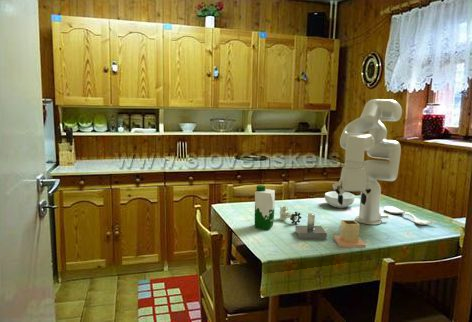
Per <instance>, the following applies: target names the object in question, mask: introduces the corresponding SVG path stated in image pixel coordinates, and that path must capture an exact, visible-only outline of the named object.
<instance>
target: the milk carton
mask: <svg viewBox="0 0 472 322" xmlns="http://www.w3.org/2000/svg"><path fill="white" fill-rule="evenodd" d="M275 192H276V189H275V190H274V189H271V188H269V189H268V188H266V186H265V185H264V184H261V185H260V184H259V185H256V190H255V191H254V229H256V230H257V229H258V230H264V231H270V230H271V229H272V227H273V226H274V221H275V199H276V195H275V194H276V193H275Z"/></svg>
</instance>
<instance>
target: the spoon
mask: <svg viewBox="0 0 472 322" xmlns="http://www.w3.org/2000/svg"><path fill="white" fill-rule="evenodd" d="M383 209H384V210H385V212H388V213H390V214H393V215H395V214H396V215H398V214H400V215H401V214H405V215H407V216H410V217H411V218H412V219H413V220H414V223H415V224H418V225H422V226H423V225H430V224H436V223H437V221H435V220H429V221H428V220H421V219H419V218H417V217H416V216H415V215H414V214H412V213H411V212H408V211H404V210H402V209H400V208H397V207H396V206H392V205H386V206H383Z"/></svg>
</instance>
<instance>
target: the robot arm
mask: <svg viewBox="0 0 472 322" xmlns="http://www.w3.org/2000/svg"><path fill="white" fill-rule="evenodd" d="M402 115H403V108H402V106H401V104H400V103H399V102H398V101H396V100H394V99H384V98H381V99H380V98H377V99H369V100H368V101H367V102H366V103H365V105H364V107H363V110H362V112H361V114H360V116H359V117H358V118H356V119H354V120H352V121H350V122H349V123H348V124H346V125H345V127H344V128H343V130H342V133H341V135H340V138H339V145H340V147H341V148H342V149H344V150H345V157H344V166H342V168H341V171H340V180H339V181H337V182H335V183H332V185H331V186H332V188H333V191H336V193H337V194H338V202H339V204H340V205H342V204H343V196H342V194H343V193H344V192H360V199H359V200H360V202H359V215H357V216H356V217H355V221H356V222H357V223H359V224H360V223H361V224H365V225H372V226H373V225H375V226H376V225H380V224H382V220H383V219H389V215H388V214H384V213H380V206H381V197H382V196H381V195H382V193H381V192H382V187H381V185H380V183H379V182H378V181H384V182H385V181H387V182H394V181H396V180H397V178H398V176H399V168H400V167H399V166H400V161H401V153H402V149H401V144H400V142H399V141H397V140H393V139H387V134H388V129H387V128H386V126H385V124H384V123H383V122H398V121H400V119H401V118H402ZM366 132H368V133H366ZM365 152H366V155H367V156H368V157H369V158H373V159H367V160H365ZM374 159H375V160H374ZM376 159H383V160H376ZM385 160H388V161H385ZM338 187H339V189H338Z"/></svg>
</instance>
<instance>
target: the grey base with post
mask: <svg viewBox="0 0 472 322" xmlns="http://www.w3.org/2000/svg"><path fill="white" fill-rule="evenodd" d="M315 219H316V214H315V213H313V212H312V213H310V212H309V213H307V225H294V228H295V231H294V233H295V234H296V236H297V238H298V240H310V241H311V240H314V241H315V240H319V241H320V240H322V241H323V240H324V241H326V240H327V236H328V235H327V232H326V230H325V229H324V228H323V226H322V225H315V221H316V220H315Z"/></svg>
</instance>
